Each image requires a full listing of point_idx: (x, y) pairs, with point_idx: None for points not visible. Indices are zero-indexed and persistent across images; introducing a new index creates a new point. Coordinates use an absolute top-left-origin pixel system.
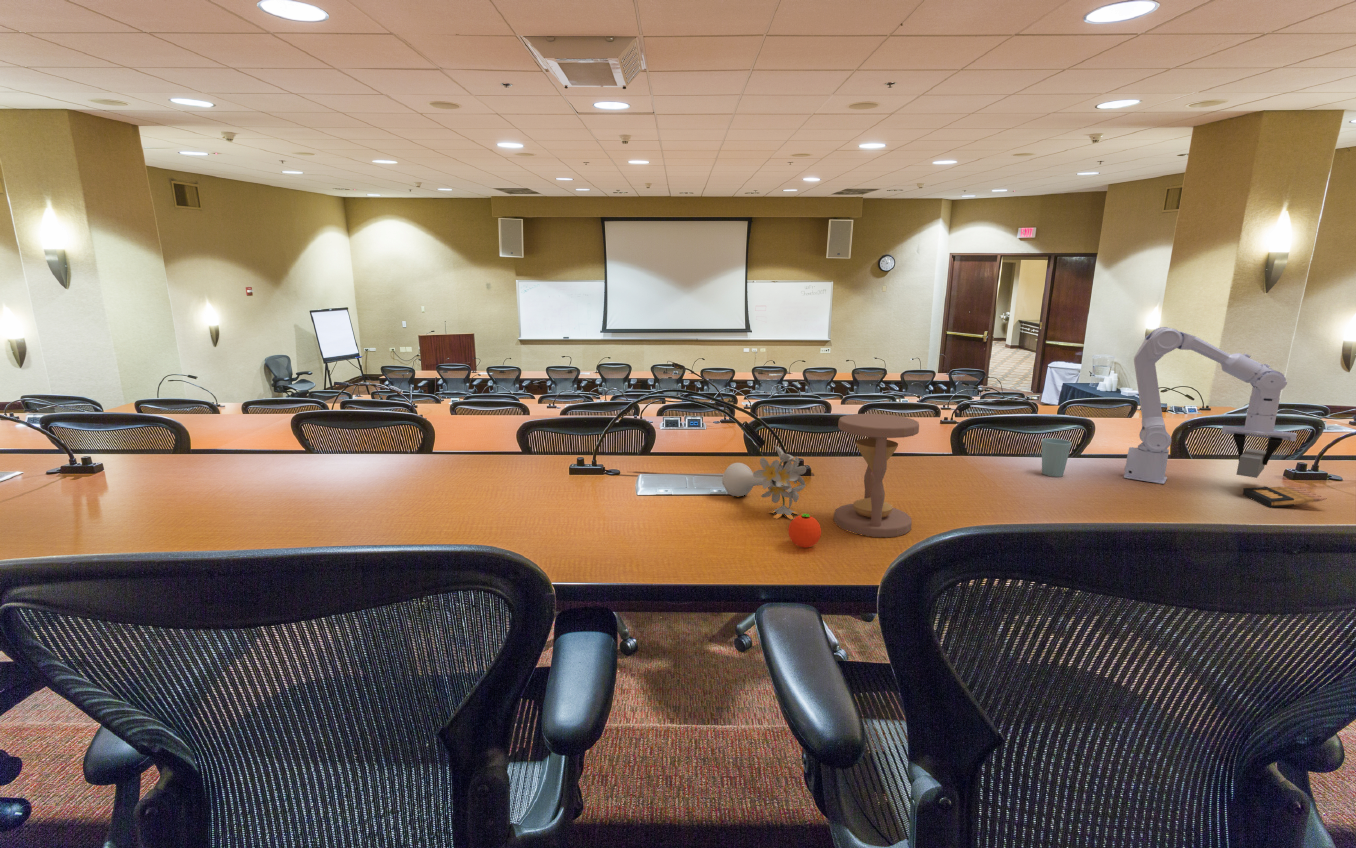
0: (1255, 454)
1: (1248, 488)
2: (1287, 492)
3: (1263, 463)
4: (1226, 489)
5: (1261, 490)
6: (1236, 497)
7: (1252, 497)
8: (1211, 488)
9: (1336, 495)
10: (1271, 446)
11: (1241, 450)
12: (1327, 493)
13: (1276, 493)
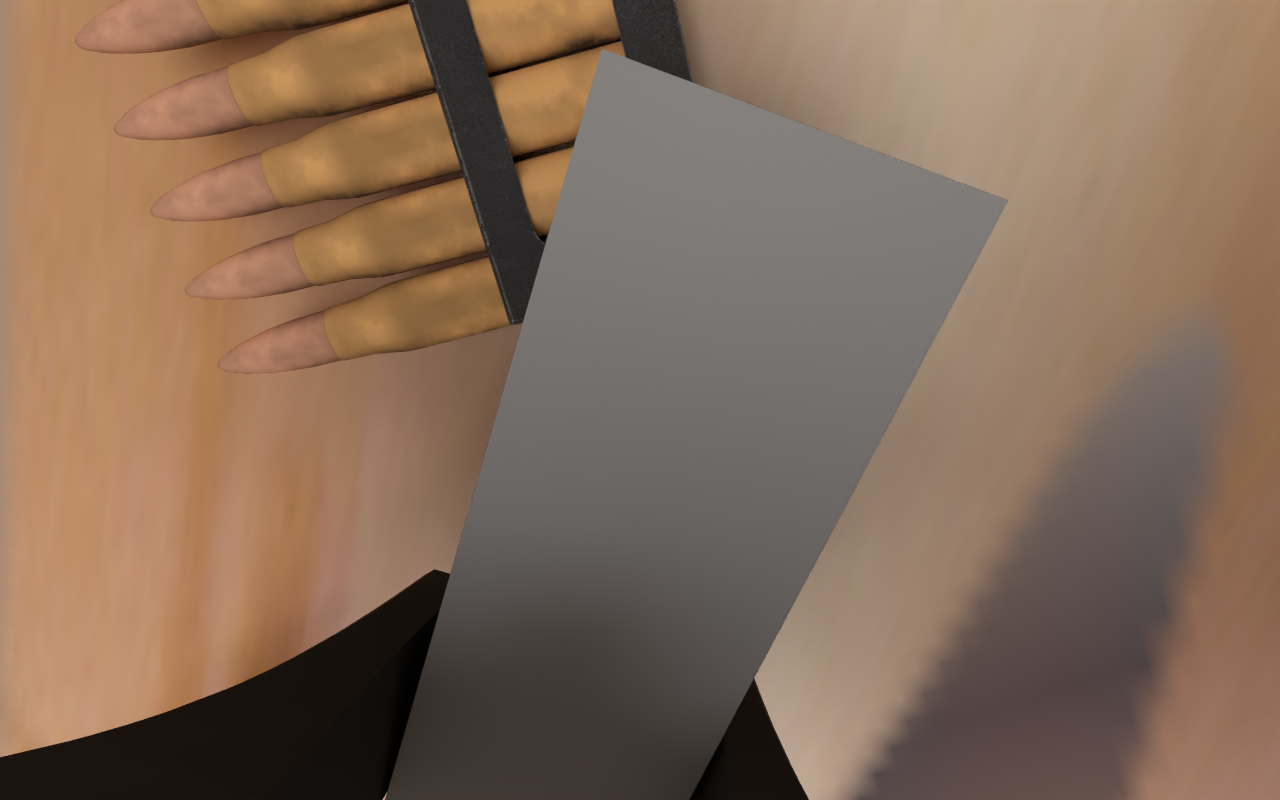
0: (540, 703)
1: None
2: (361, 121)
3: None
4: None
5: None
6: (825, 112)
7: None
8: (951, 410)
9: (45, 601)
10: (209, 763)
11: (758, 791)
12: (91, 636)
13: (475, 45)
